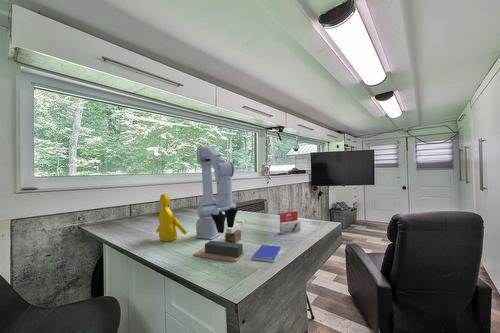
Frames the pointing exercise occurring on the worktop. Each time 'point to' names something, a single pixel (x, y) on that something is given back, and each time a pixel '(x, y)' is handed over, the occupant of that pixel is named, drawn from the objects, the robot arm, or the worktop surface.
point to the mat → (203, 254)
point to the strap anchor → (233, 236)
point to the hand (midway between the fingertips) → (225, 229)
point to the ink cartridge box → (289, 223)
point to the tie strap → (235, 226)
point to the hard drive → (267, 253)
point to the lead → (224, 248)
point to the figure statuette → (167, 221)
